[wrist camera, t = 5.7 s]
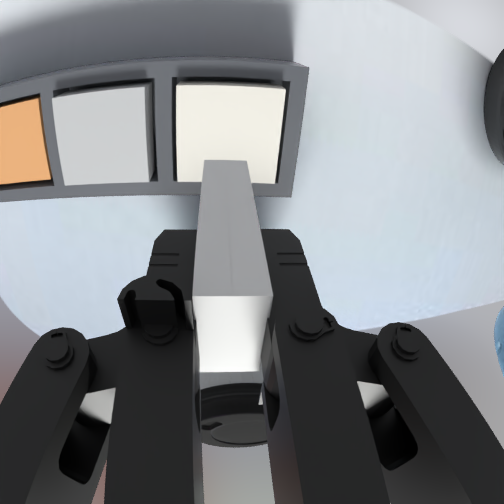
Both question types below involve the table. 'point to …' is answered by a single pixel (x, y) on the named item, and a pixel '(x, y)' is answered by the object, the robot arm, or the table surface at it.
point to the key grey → (105, 134)
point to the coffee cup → (232, 409)
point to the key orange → (23, 142)
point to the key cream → (228, 126)
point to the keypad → (160, 119)
